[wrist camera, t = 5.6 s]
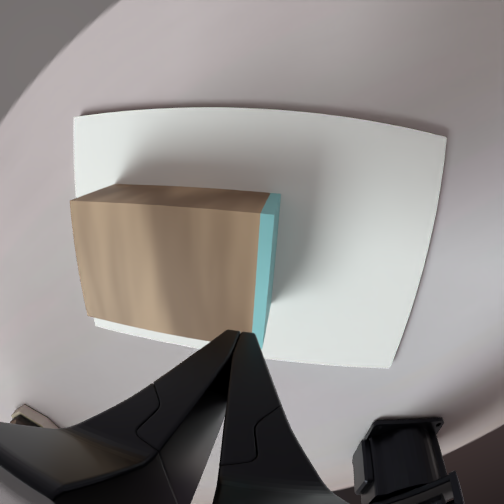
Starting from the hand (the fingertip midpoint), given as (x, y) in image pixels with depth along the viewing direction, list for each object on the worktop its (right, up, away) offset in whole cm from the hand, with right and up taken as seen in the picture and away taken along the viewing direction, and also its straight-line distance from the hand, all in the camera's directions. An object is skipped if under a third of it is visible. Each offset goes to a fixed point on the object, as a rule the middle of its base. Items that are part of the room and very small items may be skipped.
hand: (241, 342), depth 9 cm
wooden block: (+1, +2, +5) cm, 6 cm away
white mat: (0, +3, +8) cm, 8 cm away
